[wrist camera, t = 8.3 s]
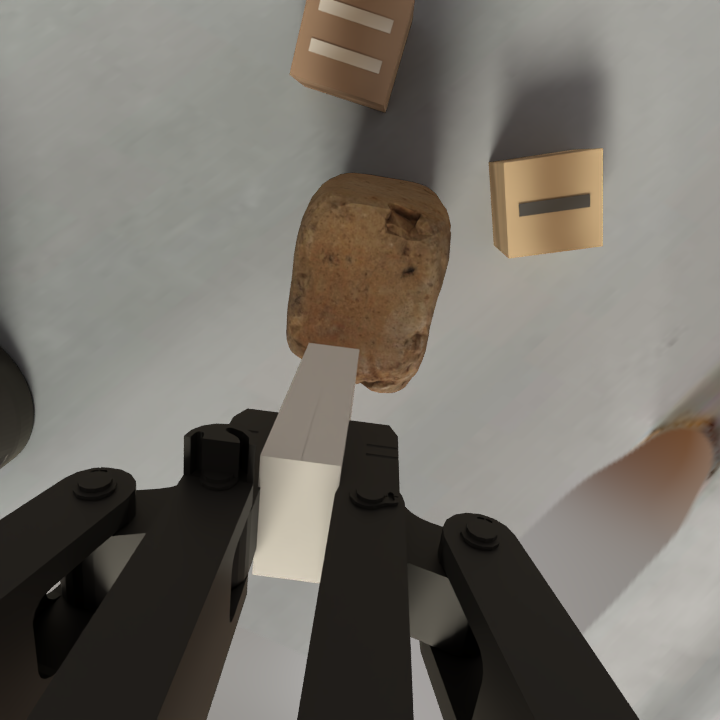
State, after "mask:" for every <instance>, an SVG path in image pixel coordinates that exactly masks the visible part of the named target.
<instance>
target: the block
mask: <svg viewBox="0 0 720 720" xmlns="http://www.w3.org/2000/svg"><path fill="white" fill-rule="evenodd" d="M450 228H451V224H450V220H449V216H448V213H447V210H446V208H445V207H444V206H443V204H442V203H441V201H440V199H439V198H438V196H437V195H436V194H435V193H434V192H433V191H432V190H431V189H429V188H428V187H426V186H423V185H421V184H418V183H414V182H409V181H404V180H399V179H392V178H386V177H380V176H375V175H368V174H359V173H345V174H340V175H338V176H336V177H333V178H331V179H329V180H328V181H327V182H325V183H324V184H322V185H321V187H320V188H319V189H318V191H317V192H316V193H315V194H314V195H313V197H312V199H311V201H310V203H309V205H308V207H307V209H306V211H305V213H304V216H303V218H302V221H301V225H300V229H299V232H298V236H297V241H296V247H295V253H294V262H293V272H292V281H291V288H290V295H289V302H288V311H287V330H286V334H287V342H288V345H289V348H290V350H291V351H292V352H293V353H294V354H295V355H297V356H298V357H299V358H301V359H302V358H303V356H304V353H305V351H306V349H307V346H308V344H309V343H314V344H322V345H330V346H337V347H345V348H353V349H359V357H358V365H357V373H356V381H355V384H358V383H362V384H363V385H364V386H366V387H367V388H368V389H370V390H371V391H375V392H378V393H393V392H397V391H399V390H401V389H403V388H404V387H405V386H406V385H407V384H408V382H409V381H410V379H411V378H412V377H413V376H414V375H415V374H416V372H417V371H418V369H419V366H420V364H421V362H422V360H423V357H424V354H425V351H426V346H427V341H428V336H429V329H430V325H431V321H432V317H433V313H434V309H435V306H436V302H437V298H438V296H439V293H440V290H441V287H442V284H443V280H444V276H445V273H446V269H447V265H448V261H449V253H450V239H451V232H450Z"/></svg>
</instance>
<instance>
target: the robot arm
mask: <svg viewBox="0 0 720 720" xmlns="http://www.w3.org/2000/svg"><path fill="white" fill-rule="evenodd" d="M358 357H359V349H353V348H345V347H337V346H330V345H322V344H314V343H309V344H308V346H307V349H306V351H305V353H304V356H303V358H302V360H301V363H300V365H299V367H298V369H297V372H296V374H295V376H294V379H293V381H292V383H291V386H290V388H289V390H288V392H287V395H286V397H285V399H284V402H283V404H282V406H281V409H280V411H279V413H278V412H270V411H262V410H255V409H246V410H244V411H243V412H241V413H239V414H237V415H236V416H234V417H233V419H232V420H231V422H230V424H210V425H204V426H200V427H198V428H195V429H192V430H191V431H189V432H188V433H187V434H186V435H185V436H184V475H183V477H182V478H181V480H180V481H179V483H178V484H177V486H173V487H169V488H161V489H149V490H136V481H135V479H134V478H133V477H132V475H131V474H129V473H127V472H125V471H123V470H120V469H114V468H103V467H101V468H91V469H88V470H84V471H80V472H76V473H74V474H72V475H70V476H68V477H66V478H64V479H63V480H61V481H59V482H58V483H56V484H55V485H53V486H52V487H50V488H49V489H47V490H46V491H44V492H42V493H41V494H39V495H38V496H36V497H35V498H33V499H32V500H30V501H29V502H27V503H26V504H24V505H22V506H21V507H19V508H18V509H16V510H15V511H13V512H12V513H10V514H9V515H7V516H5V517H4V518H2V519H1V520H0V720H206V719H207V716H208V713H209V710H210V707H211V704H212V700H213V697H214V694H215V691H216V688H217V685H218V682H219V679H220V676H221V673H222V669H223V666H224V663H225V660H226V657H227V654H228V651H229V648H230V645H231V641H232V638H233V635H234V632H235V629H236V626H237V623H238V620H239V617H240V614H241V611H242V607H243V604H244V601H245V598H246V595H247V582H248V572H249V569H250V566H251V563H252V560H253V575H261V576H268V577H276V578H283V579H291V580H299V581H306V582H314V583H320V586H319V592H318V598H317V604H316V610H315V616H314V622H313V628H312V634H311V640H310V646H309V652H308V658H307V664H306V670H305V676H304V682H303V688H302V694H301V700H300V706H299V712H298V718H297V720H414V718H413V693H412V669H411V645H410V637H412V638H415V639H417V640H419V641H420V650H421V654H422V657H423V660H424V663H425V666H426V669H427V672H428V675H429V678H430V681H431V684H432V687H433V690H434V693H435V696H436V699H437V702H438V704H439V708H440V711H441V713H442V716H443V719H444V720H639V718H638V717H637V715H636V714H635V712H634V711H633V709H632V708H631V706H630V705H629V703H628V702H627V700H626V699H625V698H624V696H623V695H622V693H621V692H620V690H619V689H618V687H617V686H616V684H615V683H614V681H613V680H612V678H611V677H610V675H609V674H608V672H607V671H606V669H605V668H604V666H603V665H602V663H601V662H600V660H599V659H598V658H597V656H596V655H595V653H594V652H593V650H592V649H591V647H590V646H589V644H588V643H587V641H586V640H585V638H584V637H583V635H582V634H581V632H580V631H579V629H578V628H577V626H576V625H575V623H574V622H573V621H572V619H571V618H570V616H569V615H568V613H567V612H566V610H565V609H564V607H563V606H562V604H561V603H560V601H559V600H558V598H557V597H556V595H555V594H554V592H553V591H552V589H551V588H550V586H549V585H548V584H547V582H546V581H545V579H544V578H543V576H542V575H541V573H540V572H539V570H538V569H537V567H536V566H535V564H534V563H533V561H532V560H531V558H530V557H529V556H528V554H527V553H526V551H525V549H524V548H523V546H522V545H521V544H520V542H519V541H518V539H517V538H516V536H515V535H514V534H513V533H512V532H511V531H510V530H509V529H508V528H507V526H505V525H503V524H502V523H500V522H498V521H497V520H495V519H493V518H490V517H488V516H485V515H481V514H473V513H463V514H456V515H454V516H452V517H450V518H449V519H447V520H446V522H445V524H444V526H443V527H441V526H439V525H436V524H433V523H430V522H428V521H425V520H423V519H421V518H419V517H417V516H416V515H414V514H413V513H411V512H410V511H409V510H408V509H407V508H406V507H405V503H404V500H403V497H402V495H401V494H400V491H399V460H398V436H397V435H396V434H395V432H394V431H393V430H392V429H391V427H390V426H389V425H382V424H374V423H366V422H359V421H351V413H352V405H353V397H354V389H355V381H356V373H357V365H358ZM33 421H34V410H33V402H32V398H31V394H30V391H29V388H28V385H27V383H26V381H25V379H24V377H23V375H22V373H21V372H20V370H19V369H18V367H17V366H16V364H15V363H14V362H13V360H12V359H11V358H10V357H9V356H8V354H7V353H6V352H5V351H4V350H3V349H2V348H1V347H0V469H1V468H2V467H3V466H5V465H6V464H7V463H9V462H10V461H11V460H12V459H14V458H15V457H16V456H17V455H18V454H19V453H20V452H21V451H22V450H23V448H24V447H25V445H26V444H27V442H28V440H29V438H30V435H31V432H32V428H33ZM253 557H254V559H253ZM59 581H60V582H61V584H60V585H59V586H58V587H56V588H55V589H54V590H53V591H52V592H50V593H48V594H46V593H47V592H48V591H49V590H50V589H51V588H52V587H53V586H54V585H55V584H56V583H58V582H59Z"/></svg>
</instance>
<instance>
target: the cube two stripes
mask: <svg viewBox="0 0 720 720" xmlns="http://www.w3.org/2000/svg"><path fill="white" fill-rule="evenodd" d="M414 3H415V0H306V5H305V9H304V13H303V18H302V22H301V27H300V31H299V35H298V40H297V44H296V48H295V53H294V57H293V62H292V66H291V70H290V75H291V76H292V77H293V78H295V79H296V80H297V81H298V82H300V83H301V84H302V85H304V86H305V87H308V88H311V89H314V90H317V91H320V92H323V93H326V94H330V95H333V96H336V97H339V98H342V99H345V100H348V101H351V102H354V103H357V104H360V105H363V106H366V107H369V108H372V109H375V110H378V111H382V112H386V109H387V106H388V102H389V99H390V95H391V92H392V88H393V85H394V82H395V78H396V75H397V71H398V68H399V64H400V61H401V57H402V54H403V51H404V47H405V44H406V40H407V37H408V33H409V30H410V26H411V23H412V19H413V11H414Z"/></svg>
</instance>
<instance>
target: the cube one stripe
mask: <svg viewBox="0 0 720 720" xmlns="http://www.w3.org/2000/svg"><path fill="white" fill-rule="evenodd" d="M489 175H490V191H491V207H492V223H493V239H494V246H495V247H497V248H498V249H499V250H500V251H501V252H502V253H503V254H504V255H505V256H507V257H508V258H515V257H523V256H531V255H538V254H546V253H554V252H561V251H569V250H577V249H584V248H592V247H600V246H603V148H598V149H577V150H568V151H561V152H555V153H548V154H541V155H535V156H528V157H521V158H515V159H508V160H501V161H494V162H489Z"/></svg>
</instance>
